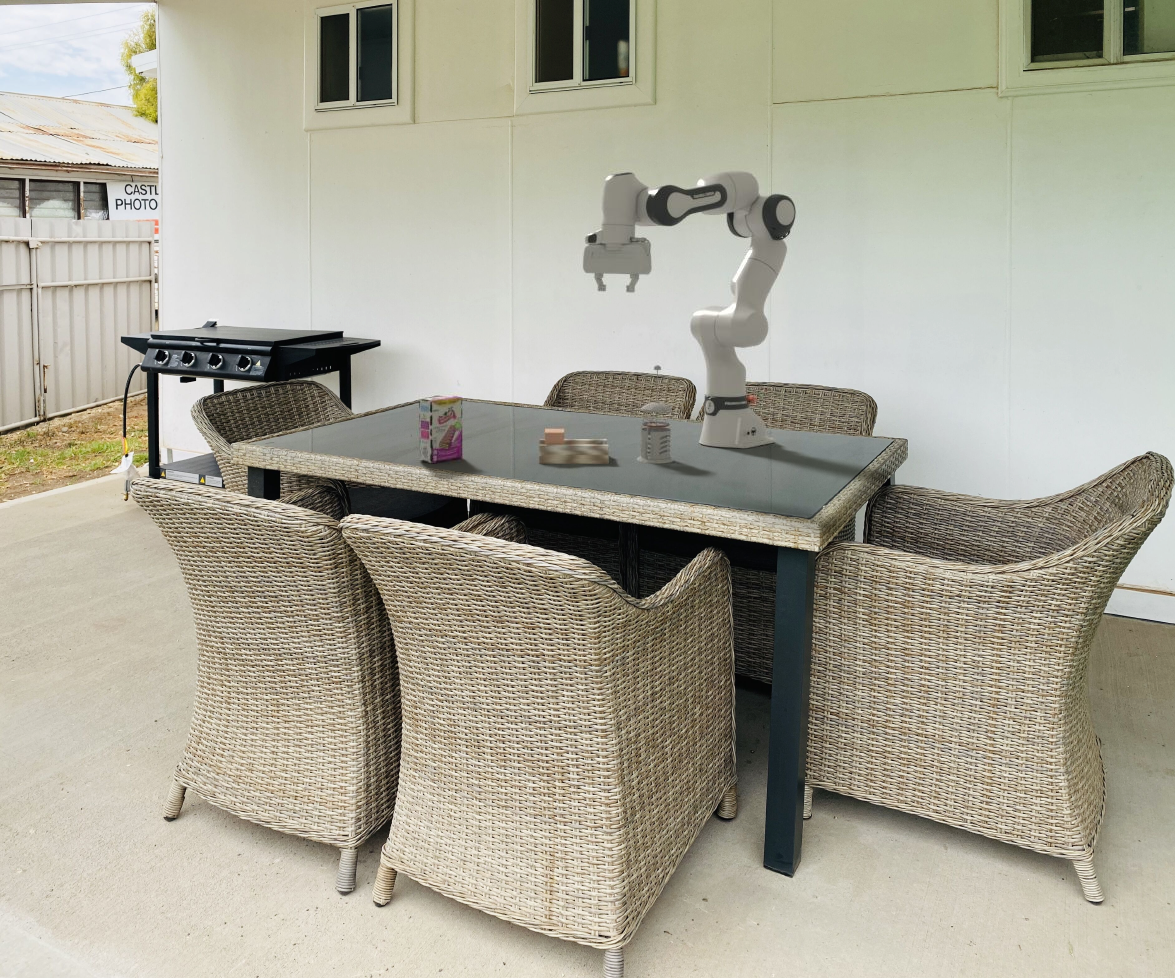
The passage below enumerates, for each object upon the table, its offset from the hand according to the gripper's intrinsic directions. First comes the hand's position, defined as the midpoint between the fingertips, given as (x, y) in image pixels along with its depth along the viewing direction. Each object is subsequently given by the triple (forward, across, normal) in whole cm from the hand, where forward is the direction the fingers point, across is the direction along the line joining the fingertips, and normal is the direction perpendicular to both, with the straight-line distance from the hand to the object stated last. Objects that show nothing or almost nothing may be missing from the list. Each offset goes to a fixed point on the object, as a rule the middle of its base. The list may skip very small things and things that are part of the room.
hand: (615, 292), depth 255 cm
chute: (+44, +3, +11) cm, 45 cm away
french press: (+43, -14, -1) cm, 45 cm away
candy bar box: (+45, +29, +35) cm, 64 cm away
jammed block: (+42, +7, +15) cm, 45 cm away
